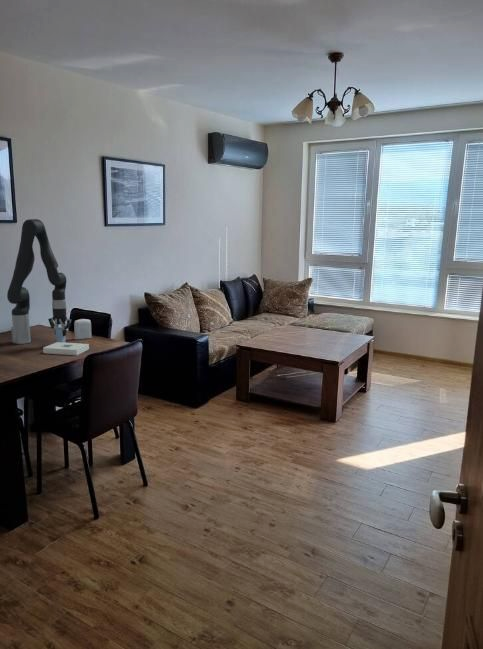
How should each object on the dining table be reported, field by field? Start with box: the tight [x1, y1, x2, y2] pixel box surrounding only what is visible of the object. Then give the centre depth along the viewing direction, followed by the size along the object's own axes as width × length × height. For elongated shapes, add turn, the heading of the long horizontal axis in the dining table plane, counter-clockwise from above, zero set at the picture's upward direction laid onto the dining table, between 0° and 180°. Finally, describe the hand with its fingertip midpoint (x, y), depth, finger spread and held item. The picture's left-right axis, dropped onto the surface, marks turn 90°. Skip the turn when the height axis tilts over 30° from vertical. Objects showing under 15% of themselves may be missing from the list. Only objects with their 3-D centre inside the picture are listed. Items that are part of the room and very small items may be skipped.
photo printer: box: [73, 318, 92, 340], centre depth 300 cm, size 10×4×12 cm, turn 123°
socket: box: [42, 341, 90, 356], centre depth 270 cm, size 20×14×3 cm
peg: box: [54, 326, 67, 343], centre depth 282 cm, size 4×4×9 cm
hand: (60, 335), depth 282 cm, fingers closed on peg, 4 cm apart
